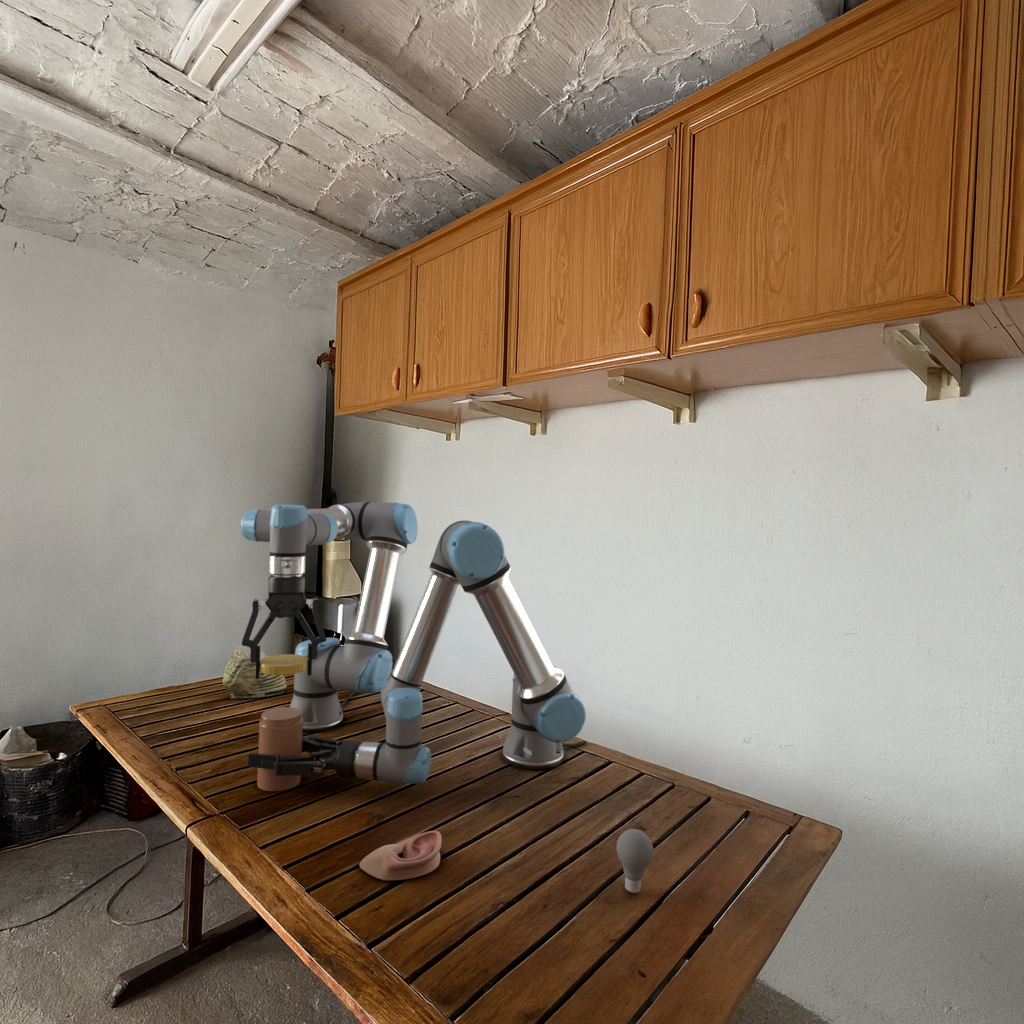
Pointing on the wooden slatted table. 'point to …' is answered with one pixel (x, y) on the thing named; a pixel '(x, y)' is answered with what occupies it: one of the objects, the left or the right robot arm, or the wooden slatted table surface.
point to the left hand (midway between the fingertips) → (283, 675)
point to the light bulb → (634, 857)
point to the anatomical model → (405, 858)
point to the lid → (283, 664)
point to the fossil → (250, 677)
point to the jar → (279, 745)
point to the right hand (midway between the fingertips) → (260, 750)
